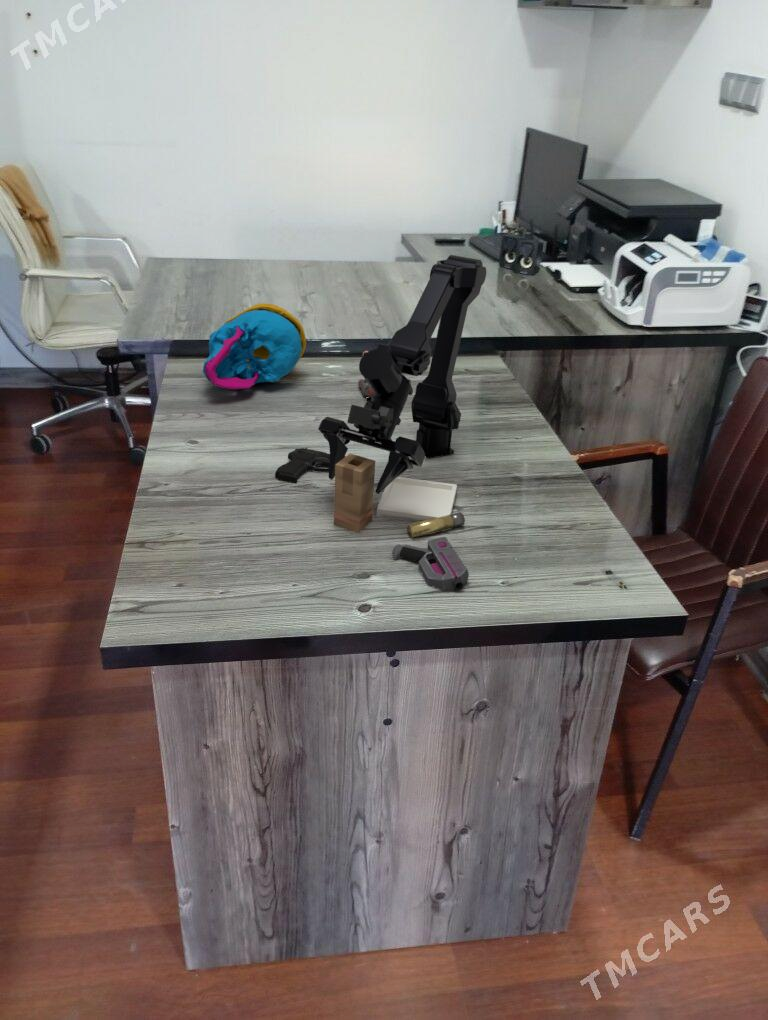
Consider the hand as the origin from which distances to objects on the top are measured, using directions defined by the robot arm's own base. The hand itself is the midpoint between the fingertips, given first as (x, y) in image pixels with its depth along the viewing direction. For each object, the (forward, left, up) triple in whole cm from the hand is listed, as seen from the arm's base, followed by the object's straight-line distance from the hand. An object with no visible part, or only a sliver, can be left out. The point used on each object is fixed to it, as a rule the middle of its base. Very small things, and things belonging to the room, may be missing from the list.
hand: (353, 485), depth 143 cm
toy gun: (-6, +18, -8) cm, 20 cm away
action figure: (-34, -52, -8) cm, 63 cm away
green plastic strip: (-32, +32, -8) cm, 46 cm away
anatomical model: (-6, -67, -8) cm, 67 cm away
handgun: (-3, -20, -8) cm, 21 cm away
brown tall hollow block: (0, 0, -8) cm, 8 cm away
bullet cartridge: (-12, +8, -8) cm, 17 cm away
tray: (-14, -2, -8) cm, 16 cm away
